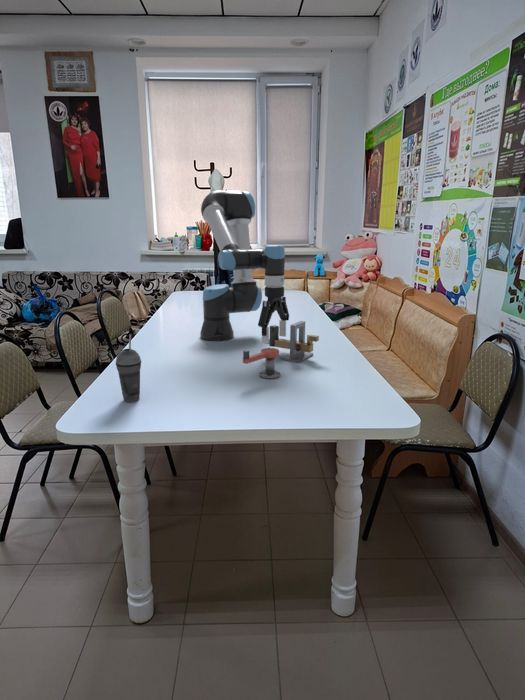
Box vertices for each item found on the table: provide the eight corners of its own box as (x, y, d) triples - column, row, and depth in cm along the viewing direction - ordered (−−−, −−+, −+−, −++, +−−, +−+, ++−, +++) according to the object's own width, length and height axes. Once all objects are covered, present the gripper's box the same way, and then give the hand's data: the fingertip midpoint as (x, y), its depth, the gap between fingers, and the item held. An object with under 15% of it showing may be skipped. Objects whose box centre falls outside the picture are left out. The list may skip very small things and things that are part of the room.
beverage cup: (121, 395, 136) (116, 331, 131) (146, 394, 137) (141, 331, 131) (116, 404, 129) (109, 337, 124) (142, 403, 130) (136, 337, 124)
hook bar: (267, 345, 178) (267, 326, 176) (272, 343, 181) (272, 325, 179) (315, 353, 168) (315, 333, 165) (319, 351, 171) (319, 331, 168)
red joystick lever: (250, 365, 141) (250, 353, 140) (237, 361, 145) (237, 350, 144) (282, 355, 152) (282, 344, 151) (269, 352, 156) (269, 341, 155)
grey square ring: (280, 359, 171) (281, 324, 168) (295, 352, 181) (296, 319, 177) (299, 362, 167) (300, 327, 164) (313, 355, 177) (314, 321, 173)
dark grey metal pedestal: (255, 376, 153) (255, 357, 151) (266, 371, 158) (266, 352, 156) (273, 380, 149) (273, 360, 147) (283, 374, 155) (284, 355, 153)
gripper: (265, 291, 160) (265, 348, 166) (298, 283, 180) (297, 334, 186) (248, 289, 164) (249, 345, 170) (282, 282, 184) (281, 332, 190)
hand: (274, 339), depth 178 cm, fingers open, 13 cm apart
